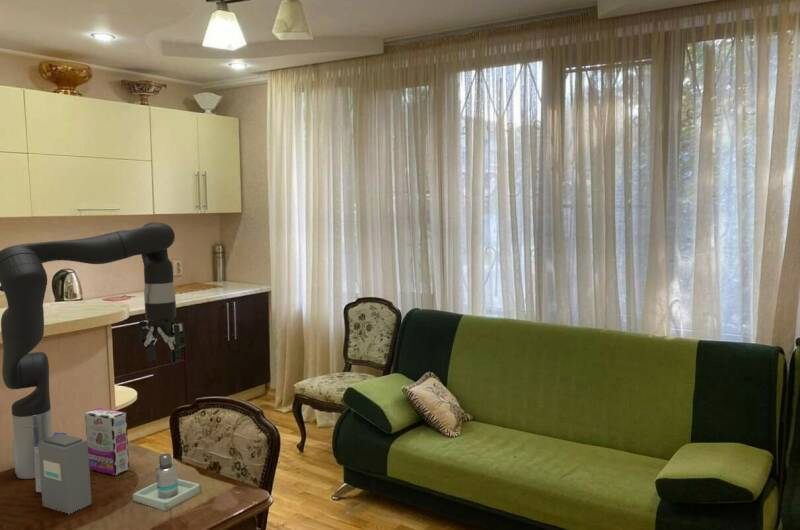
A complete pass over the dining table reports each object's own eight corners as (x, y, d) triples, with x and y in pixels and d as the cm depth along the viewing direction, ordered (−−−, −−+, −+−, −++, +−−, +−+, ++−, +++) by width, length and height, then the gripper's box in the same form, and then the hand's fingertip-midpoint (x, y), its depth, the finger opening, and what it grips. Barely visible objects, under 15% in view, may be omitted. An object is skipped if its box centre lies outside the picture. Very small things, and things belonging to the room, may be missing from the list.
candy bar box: (130, 469, 179) (127, 412, 178) (115, 476, 175) (112, 417, 173) (102, 463, 184) (99, 407, 183) (87, 470, 180) (83, 412, 178)
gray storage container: (41, 506, 158) (36, 440, 156) (65, 496, 164) (60, 432, 162) (67, 515, 153) (63, 447, 152) (91, 503, 159) (87, 438, 157)
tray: (133, 501, 160) (132, 493, 160) (169, 483, 170) (168, 476, 170) (166, 511, 154) (165, 503, 154) (201, 491, 164) (201, 484, 164)
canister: (153, 495, 161) (150, 457, 160) (170, 488, 165) (167, 450, 164) (166, 500, 159) (162, 460, 158) (182, 492, 163) (179, 453, 162)
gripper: (191, 299, 167) (194, 361, 169) (152, 296, 174) (155, 356, 175) (168, 303, 161) (172, 367, 162) (128, 300, 167) (132, 362, 169)
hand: (163, 361), depth 169 cm, fingers open, 8 cm apart
